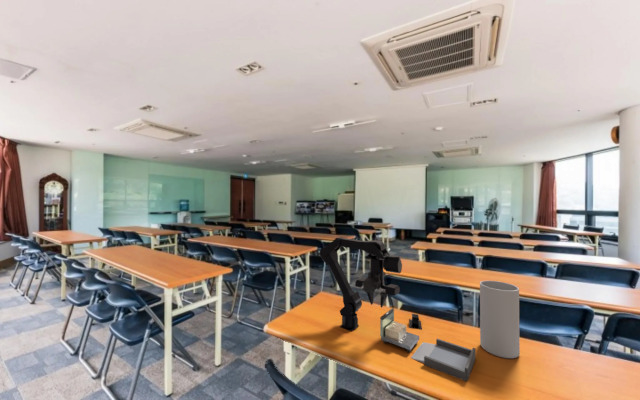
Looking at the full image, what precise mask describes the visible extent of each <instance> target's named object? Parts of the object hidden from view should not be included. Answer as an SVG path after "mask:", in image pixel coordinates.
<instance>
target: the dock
mask: <svg viewBox="0 0 640 400" xmlns="http://www.w3.org/2000/svg"><path fill="white" fill-rule="evenodd" d="M435 342H436V343H430V342H426V341H425V342H424V341H423V342H422V343H421V344H420V345H419V346H418V348H417V349H416V350H415V352H413V354H412V355H411V357H410V359H412V360H414V361H418V362H420V363H422V364H423V365H424V366H426V367H428V368H431V369H434V370H436V371H438V372H441V373H444V374H447V375H449V376H452V377H453V378H456V379H458V380H461V381H464V382H466V381H467V382H468V381H469V378H470V375H471V372H472V370H473V369H474V368H473V367H474V365H475V362H476V348H475V347H472V348H468V347H464V346H461V345H459V344H456V343H452V342H449V341H446V340H442V339H441V338H436V340H435Z"/></svg>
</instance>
